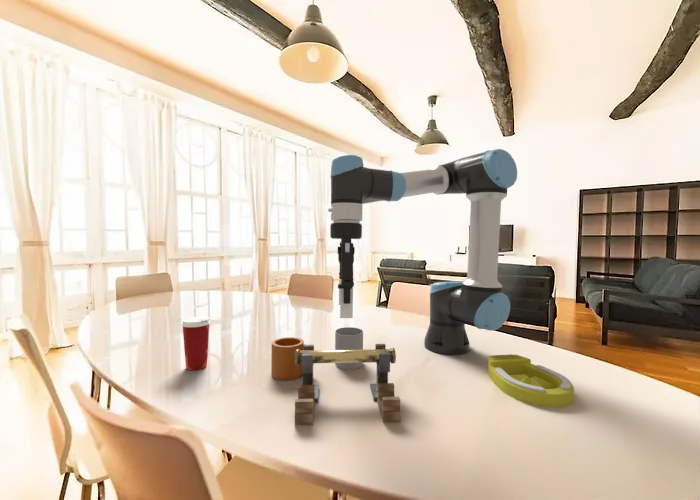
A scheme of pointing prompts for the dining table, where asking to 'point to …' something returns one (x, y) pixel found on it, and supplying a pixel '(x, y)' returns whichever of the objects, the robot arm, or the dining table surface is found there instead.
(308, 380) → the post
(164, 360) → the dining table surface
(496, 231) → the robot arm
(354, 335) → the cup
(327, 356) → the rail
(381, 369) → the post
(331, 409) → the dining table surface
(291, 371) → the mug
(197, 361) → the paper cup
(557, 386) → the ashtray
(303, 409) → the rest
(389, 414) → the rest
